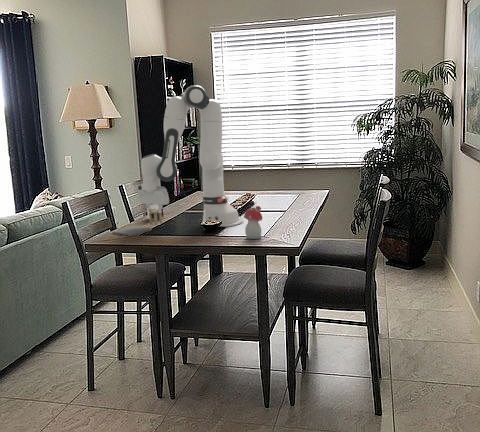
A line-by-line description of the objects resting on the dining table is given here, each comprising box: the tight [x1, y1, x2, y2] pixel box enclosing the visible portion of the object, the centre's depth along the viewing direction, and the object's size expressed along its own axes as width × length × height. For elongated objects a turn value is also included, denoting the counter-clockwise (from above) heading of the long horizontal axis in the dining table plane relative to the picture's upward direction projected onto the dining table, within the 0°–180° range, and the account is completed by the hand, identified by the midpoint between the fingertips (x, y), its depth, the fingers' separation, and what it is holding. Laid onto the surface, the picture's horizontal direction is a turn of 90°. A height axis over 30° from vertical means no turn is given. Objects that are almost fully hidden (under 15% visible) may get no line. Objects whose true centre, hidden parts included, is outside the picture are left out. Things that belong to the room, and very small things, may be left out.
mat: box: [112, 225, 153, 237], centre depth 282 cm, size 14×14×1 cm
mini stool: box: [149, 208, 163, 226], centre depth 289 cm, size 6×6×8 cm
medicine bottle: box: [146, 204, 164, 221], centre depth 313 cm, size 7×7×12 cm
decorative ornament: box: [243, 205, 263, 240], centre depth 251 cm, size 9×7×15 cm
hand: (155, 212), depth 289 cm, fingers closed on mini stool, 5 cm apart
